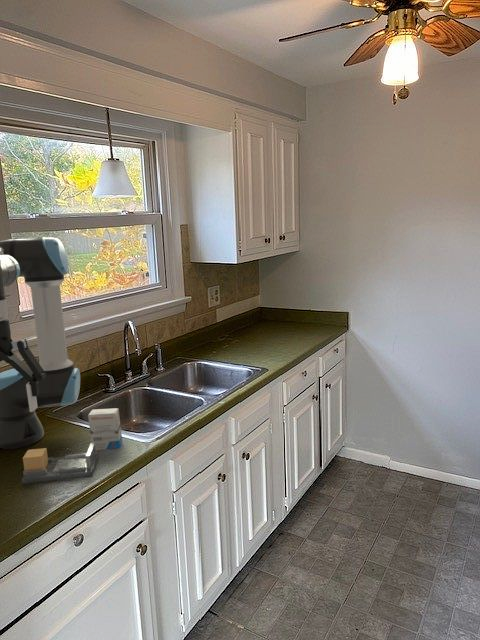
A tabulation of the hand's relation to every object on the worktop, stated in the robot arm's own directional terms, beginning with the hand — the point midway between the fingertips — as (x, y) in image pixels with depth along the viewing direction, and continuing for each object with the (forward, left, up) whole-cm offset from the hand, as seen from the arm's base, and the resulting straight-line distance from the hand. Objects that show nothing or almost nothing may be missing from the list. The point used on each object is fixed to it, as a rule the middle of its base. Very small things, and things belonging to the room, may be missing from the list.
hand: (3, 411), depth 110 cm
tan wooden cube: (-22, -2, -25) cm, 33 cm away
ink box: (-35, +16, -27) cm, 47 cm away
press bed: (-22, +6, -27) cm, 35 cm away
